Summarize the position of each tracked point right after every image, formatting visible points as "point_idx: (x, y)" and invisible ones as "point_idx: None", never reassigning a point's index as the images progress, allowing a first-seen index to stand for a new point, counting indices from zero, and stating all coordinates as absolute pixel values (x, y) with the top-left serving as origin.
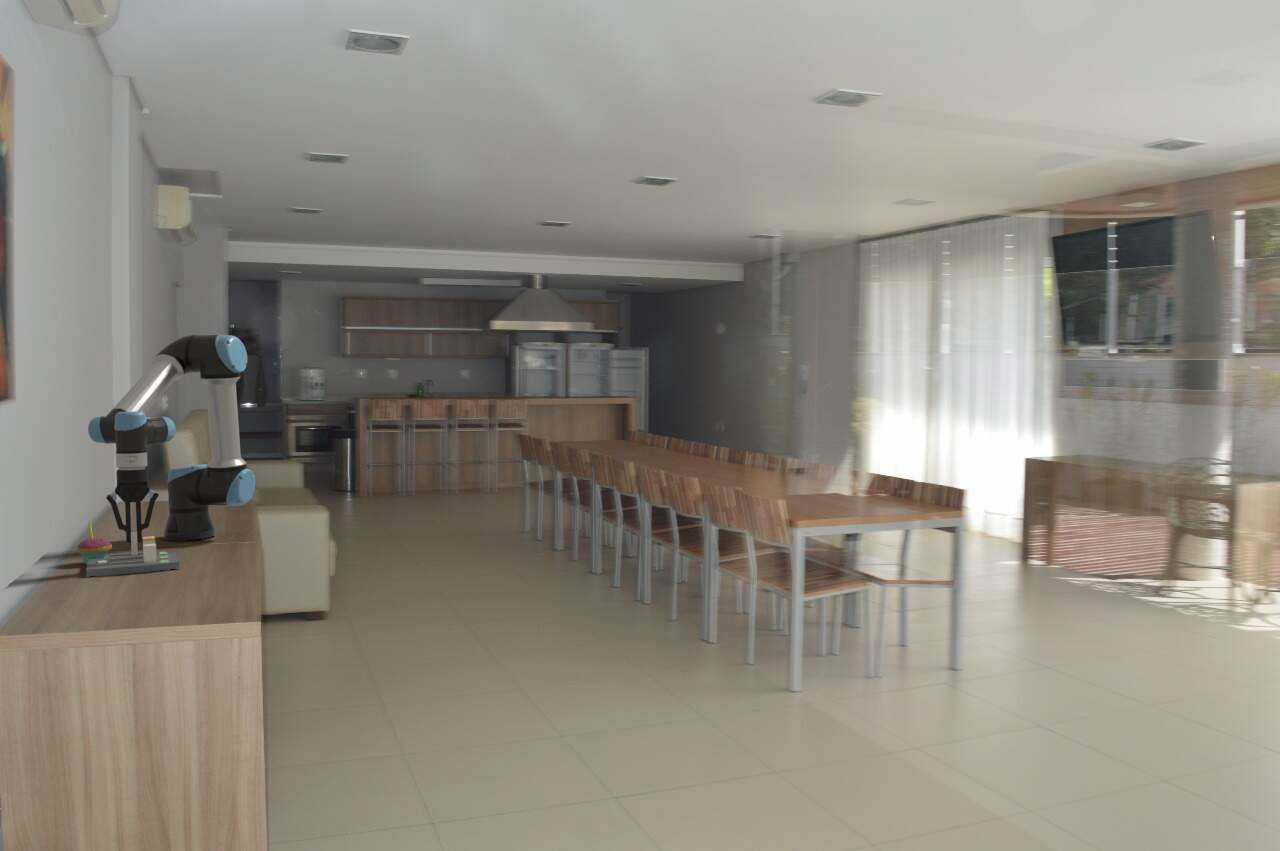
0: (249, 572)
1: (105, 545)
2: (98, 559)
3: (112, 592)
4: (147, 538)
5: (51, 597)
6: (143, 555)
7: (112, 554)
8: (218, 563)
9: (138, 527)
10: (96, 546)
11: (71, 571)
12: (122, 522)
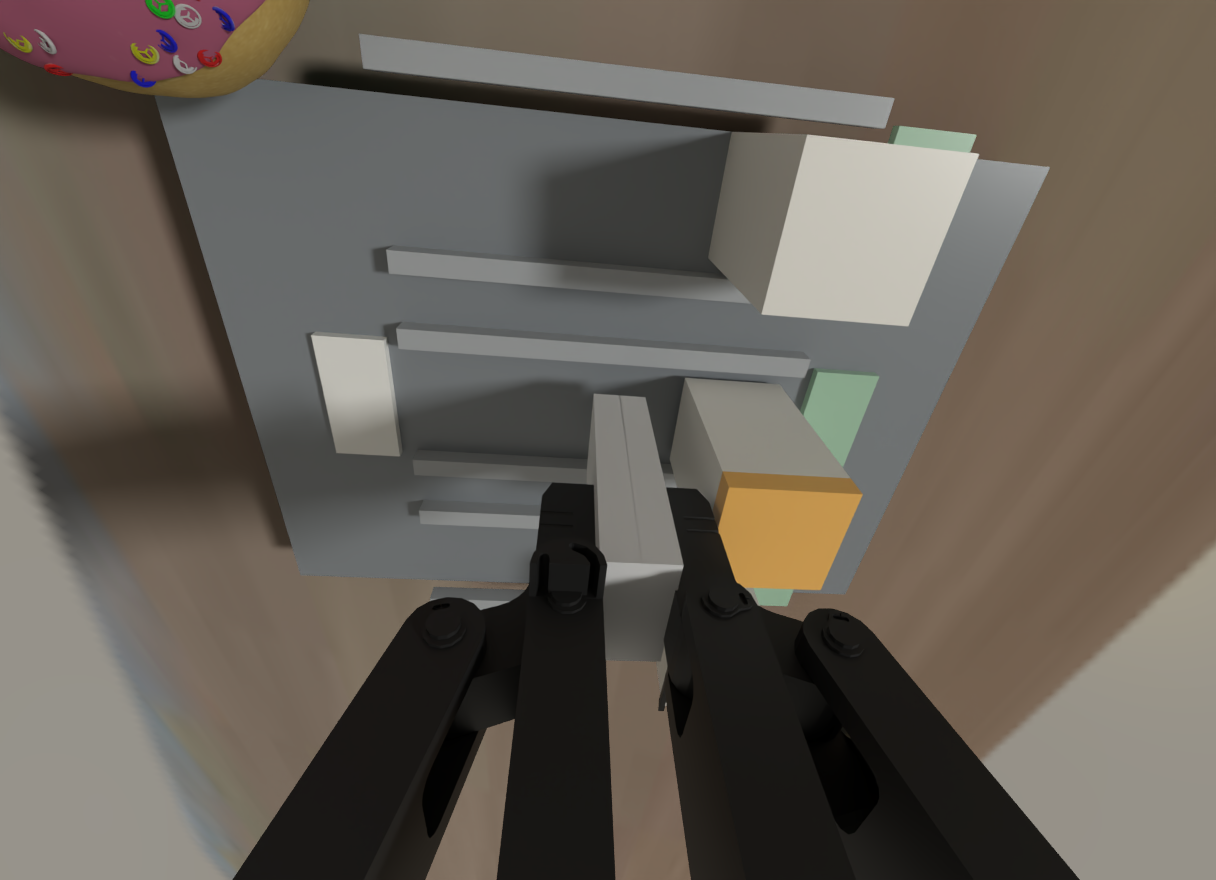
0: (1015, 724)
1: (247, 5)
2: (280, 175)
3: (490, 798)
4: (754, 567)
5: (283, 791)
6: (676, 477)
7: (398, 47)
8: (1074, 504)
9: (690, 702)
10: (131, 72)
11: (126, 277)
12: (455, 693)
